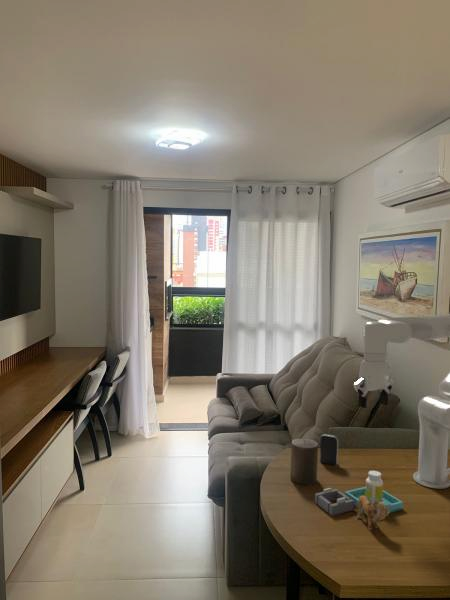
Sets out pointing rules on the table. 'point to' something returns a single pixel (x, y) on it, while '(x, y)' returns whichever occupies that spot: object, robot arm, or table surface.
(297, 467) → the pillar candle
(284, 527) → the table surface
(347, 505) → the clip holder
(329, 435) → the battery charger
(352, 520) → the table surface
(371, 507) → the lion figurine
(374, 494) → the supplement bottle
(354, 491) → the tray
